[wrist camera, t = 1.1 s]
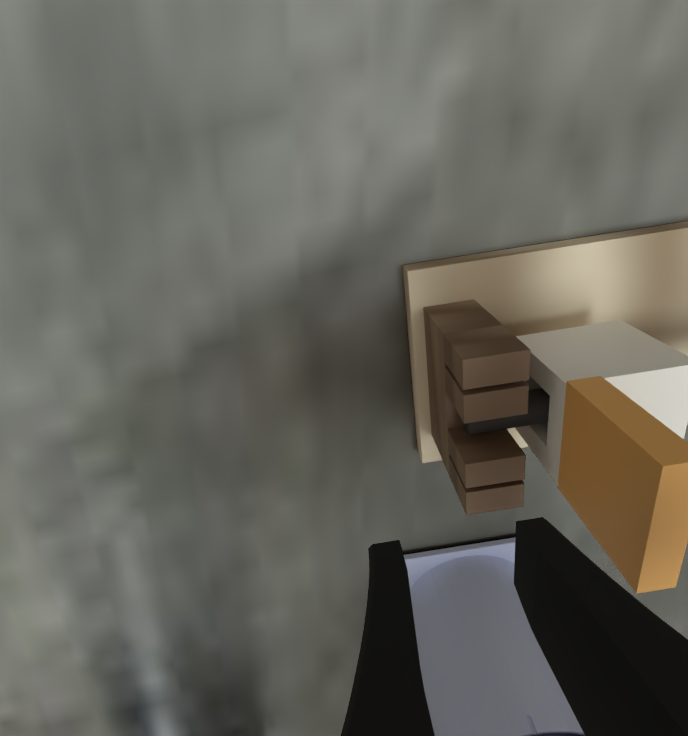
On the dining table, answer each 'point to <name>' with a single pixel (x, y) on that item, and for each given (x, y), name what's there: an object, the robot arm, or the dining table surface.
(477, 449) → the board
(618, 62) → the dining table surface
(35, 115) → the dining table surface
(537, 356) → the sleeve
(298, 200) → the dining table surface
